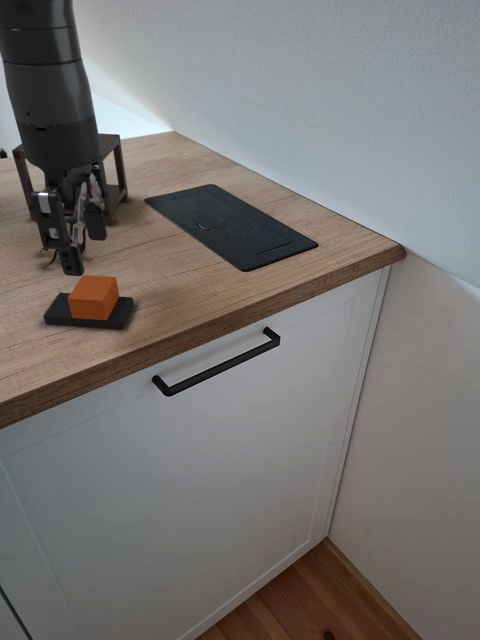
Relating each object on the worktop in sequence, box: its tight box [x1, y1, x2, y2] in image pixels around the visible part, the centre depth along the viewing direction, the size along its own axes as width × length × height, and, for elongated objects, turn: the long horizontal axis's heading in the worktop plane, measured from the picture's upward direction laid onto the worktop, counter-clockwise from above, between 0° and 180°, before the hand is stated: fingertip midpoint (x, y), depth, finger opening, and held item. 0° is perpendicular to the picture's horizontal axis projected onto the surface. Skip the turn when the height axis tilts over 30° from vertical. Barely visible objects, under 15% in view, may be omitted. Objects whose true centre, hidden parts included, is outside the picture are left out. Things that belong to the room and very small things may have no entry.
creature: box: [39, 224, 87, 269], centre depth 74 cm, size 8×5×8 cm
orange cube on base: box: [42, 274, 135, 331], centre depth 63 cm, size 10×6×4 cm, turn 86°
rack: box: [11, 132, 130, 227], centre depth 85 cm, size 14×11×12 cm
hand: (87, 255), depth 59 cm, fingers open, 8 cm apart
